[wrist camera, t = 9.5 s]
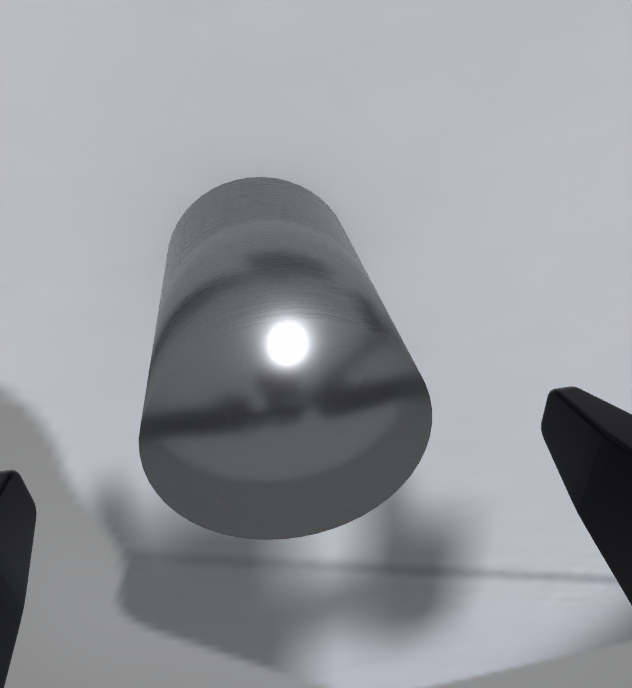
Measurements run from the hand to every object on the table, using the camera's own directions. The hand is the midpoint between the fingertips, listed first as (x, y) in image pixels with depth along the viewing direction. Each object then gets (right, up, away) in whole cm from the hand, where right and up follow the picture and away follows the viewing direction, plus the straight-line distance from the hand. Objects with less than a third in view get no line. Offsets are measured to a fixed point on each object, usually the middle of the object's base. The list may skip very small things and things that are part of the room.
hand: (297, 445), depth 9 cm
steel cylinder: (-1, +4, +6) cm, 7 cm away
